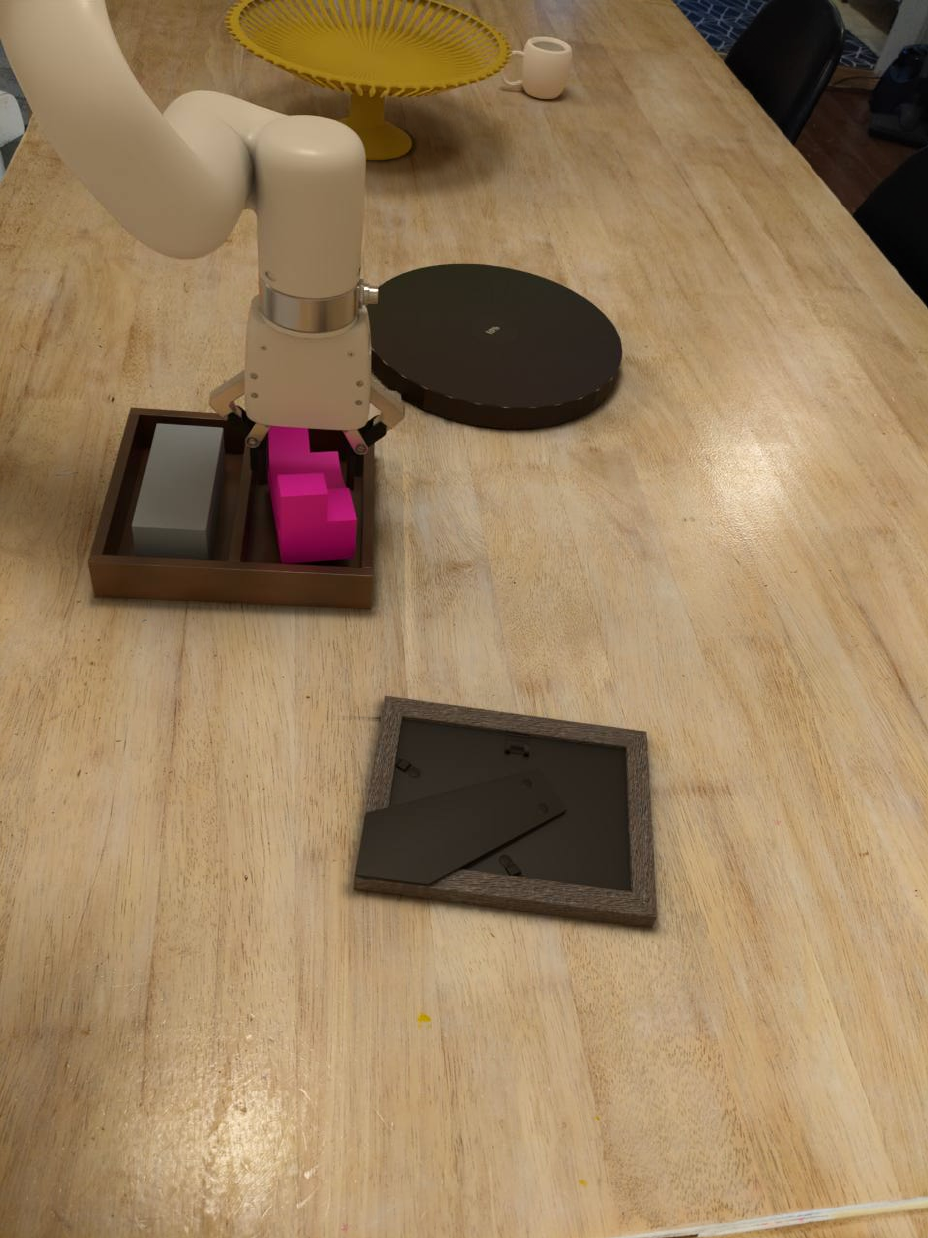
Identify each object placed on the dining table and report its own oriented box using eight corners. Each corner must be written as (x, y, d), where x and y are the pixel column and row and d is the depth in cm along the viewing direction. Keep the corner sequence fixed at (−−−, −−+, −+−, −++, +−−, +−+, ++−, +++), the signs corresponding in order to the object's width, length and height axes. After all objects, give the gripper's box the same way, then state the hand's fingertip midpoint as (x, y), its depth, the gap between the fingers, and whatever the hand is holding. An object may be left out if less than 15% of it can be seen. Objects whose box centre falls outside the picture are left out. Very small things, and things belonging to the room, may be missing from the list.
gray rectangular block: (138, 569, 88) (131, 525, 84) (161, 465, 98) (156, 422, 94) (209, 572, 89) (205, 529, 85) (226, 469, 98) (223, 427, 95)
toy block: (354, 558, 89) (358, 492, 83) (281, 563, 87) (281, 496, 82) (329, 449, 98) (331, 384, 93) (263, 453, 97) (261, 386, 91)
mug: (559, 85, 179) (568, 36, 174) (570, 105, 174) (579, 55, 168) (492, 80, 177) (499, 30, 171) (501, 100, 171) (508, 49, 166)
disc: (434, 259, 132) (436, 237, 130) (650, 337, 126) (657, 315, 123) (310, 366, 113) (310, 342, 110) (558, 465, 106) (564, 442, 104)
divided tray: (95, 601, 86) (87, 562, 82) (135, 445, 100) (130, 406, 97) (370, 613, 89) (373, 576, 85) (372, 460, 103) (374, 423, 100)
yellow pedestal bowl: (174, 111, 153) (165, -1, 142) (384, 71, 174) (390, -30, 163) (341, 227, 135) (345, 109, 124) (552, 166, 156) (571, 60, 145)
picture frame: (353, 888, 71) (651, 927, 72) (354, 874, 69) (658, 914, 70) (383, 707, 82) (641, 743, 83) (385, 692, 80) (647, 728, 81)
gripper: (422, 279, 81) (404, 457, 94) (198, 260, 79) (211, 445, 92) (424, 331, 76) (405, 511, 89) (185, 312, 74) (201, 500, 87)
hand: (307, 476), depth 91 cm, fingers closed on toy block, 7 cm apart
